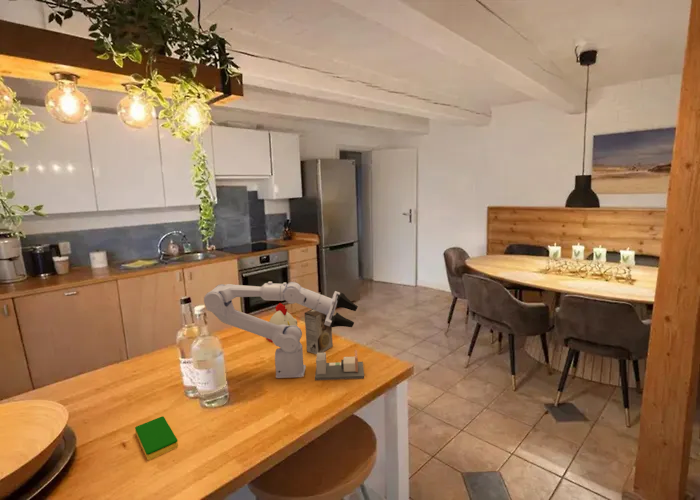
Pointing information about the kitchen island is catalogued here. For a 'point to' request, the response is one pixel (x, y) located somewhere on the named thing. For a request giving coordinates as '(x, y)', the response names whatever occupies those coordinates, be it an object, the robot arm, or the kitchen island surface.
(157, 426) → the dish sponge
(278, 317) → the kitchen timer
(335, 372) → the board
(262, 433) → the kitchen island surface
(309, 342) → the coffee box
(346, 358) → the cream and red block
